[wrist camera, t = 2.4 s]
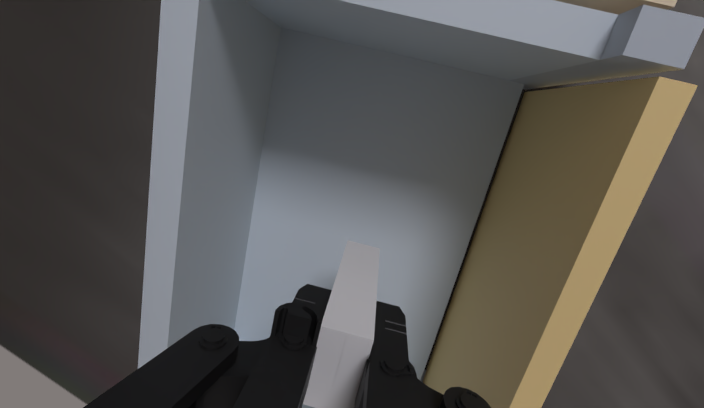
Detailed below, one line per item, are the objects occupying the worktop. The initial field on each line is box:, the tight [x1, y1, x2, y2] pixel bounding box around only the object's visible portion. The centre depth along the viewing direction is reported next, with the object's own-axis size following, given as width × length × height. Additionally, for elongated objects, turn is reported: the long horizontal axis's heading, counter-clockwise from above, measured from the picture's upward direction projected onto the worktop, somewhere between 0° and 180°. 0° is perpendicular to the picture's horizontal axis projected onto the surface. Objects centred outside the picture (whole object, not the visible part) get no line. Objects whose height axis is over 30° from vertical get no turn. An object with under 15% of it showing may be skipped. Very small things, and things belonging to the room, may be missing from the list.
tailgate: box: [423, 77, 698, 408], centre depth 16 cm, size 19×1×10 cm, turn 167°
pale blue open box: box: [138, 0, 704, 408], centre depth 17 cm, size 22×15×11 cm
